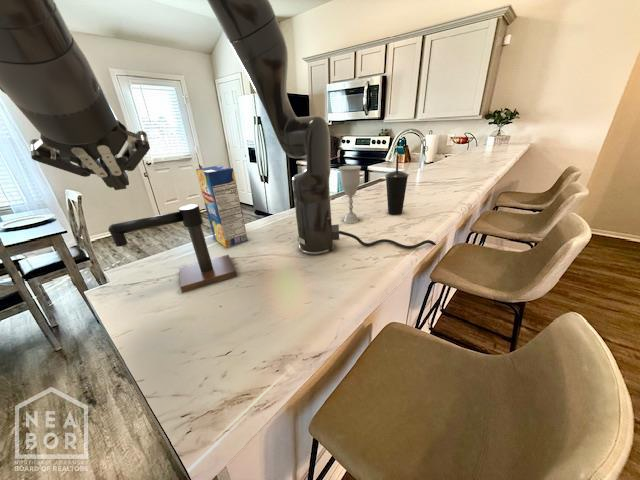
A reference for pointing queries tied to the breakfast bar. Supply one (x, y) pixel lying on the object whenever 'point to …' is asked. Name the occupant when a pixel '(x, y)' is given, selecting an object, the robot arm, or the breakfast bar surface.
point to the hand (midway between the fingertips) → (120, 184)
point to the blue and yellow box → (222, 204)
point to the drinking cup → (396, 190)
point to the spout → (156, 223)
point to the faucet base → (204, 265)
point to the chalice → (350, 187)
